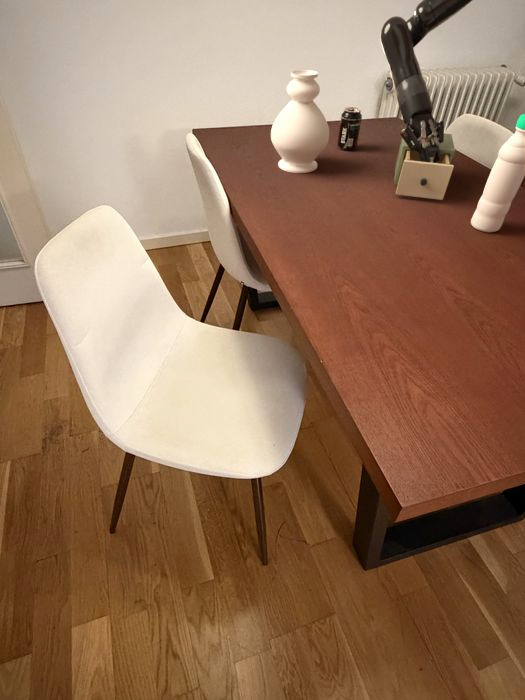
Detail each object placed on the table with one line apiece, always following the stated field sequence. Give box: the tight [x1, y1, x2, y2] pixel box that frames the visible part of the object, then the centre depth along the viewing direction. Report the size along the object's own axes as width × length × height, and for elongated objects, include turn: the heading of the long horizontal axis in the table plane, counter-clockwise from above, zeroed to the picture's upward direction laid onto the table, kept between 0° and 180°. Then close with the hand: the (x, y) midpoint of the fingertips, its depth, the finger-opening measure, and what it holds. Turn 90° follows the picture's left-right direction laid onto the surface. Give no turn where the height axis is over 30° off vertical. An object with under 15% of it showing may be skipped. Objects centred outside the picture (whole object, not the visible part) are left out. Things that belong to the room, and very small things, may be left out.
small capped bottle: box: [420, 146, 437, 163], centre depth 109 cm, size 3×3×7 cm
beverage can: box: [337, 106, 363, 151], centre depth 136 cm, size 7×7×12 cm
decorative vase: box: [270, 69, 330, 174], centre depth 120 cm, size 18×18×25 cm
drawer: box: [395, 150, 455, 201], centre depth 112 cm, size 15×13×9 cm
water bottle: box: [470, 113, 525, 233], centre depth 92 cm, size 7×7×25 cm
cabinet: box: [393, 133, 456, 186], centre depth 119 cm, size 15×14×11 cm
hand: (432, 162), depth 108 cm, fingers closed on small capped bottle, 3 cm apart
